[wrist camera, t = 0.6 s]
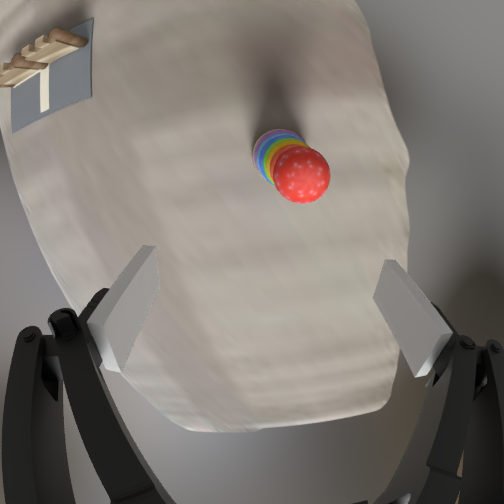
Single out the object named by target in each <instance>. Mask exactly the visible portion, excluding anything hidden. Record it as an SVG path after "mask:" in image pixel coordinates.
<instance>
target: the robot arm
mask: <svg viewBox="0 0 504 504" xmlns="http://www.w3.org/2000/svg"><path fill="white" fill-rule="evenodd" d="M160 288H161V287H160V279H159V271H158V263H157V254H156V246H145V245H143V246H142V248H141V249H140V250H139V251H138V253H137V254H136V255H135V256H134V258H133V259H132V260H131V261H130V263H129V264H128V265H127V267H126V268H125V269H124V270H123V272H122V273H121V274H120V276H119V277H118V278H117V280H116V281H115V282H114V284H113V285H112V287H111V288H110V289H108V288H103V289H101V290H100V291H98V292H97V293H96V294H95V295H94V296H93V298H92V299H91V301H90V302H89V303H88V304H87V307H85V308H84V310H83V311H82V313H81V314H80V315H79V317H77V314H76V312H75V311H74V310H73V309H70V308H62V309H59V310H57V311H55V312H53V313H52V314H51V315H50V317H49V318H48V325H49V327H50V330H51V331H52V334H53V335H42V332H41V330H40V329H39V328H38V327H36V326H29V327H26V328H25V329H23V330H22V331H21V332H20V333H19V335H18V337H17V340H16V344H15V349H14V352H13V357H12V361H11V366H10V371H9V377H8V383H7V389H6V395H5V403H4V414H3V426H2V472H3V486H4V494H5V502H6V504H76V503H75V499H74V494H73V490H72V485H71V479H70V474H69V468H68V461H67V453H66V444H65V433H64V417H63V381H64V384H65V388H66V392H67V395H68V399H69V402H70V406H71V409H72V412H73V415H74V418H75V421H76V424H77V427H78V430H79V432H80V435H81V438H82V440H83V443H84V445H85V448H86V450H87V452H88V455H89V457H90V459H91V462H92V463H93V466H94V468H95V470H96V472H97V474H98V476H99V478H100V480H101V482H102V484H103V486H104V488H105V490H106V492H107V494H108V495H109V498H110V500H111V503H110V504H176V503H175V502H174V500H173V499H172V498H171V497H170V495H169V494H168V493H167V491H166V490H165V489H164V487H163V486H162V484H161V483H160V482H159V480H158V479H157V477H156V476H155V474H154V473H153V471H152V470H151V468H150V467H149V465H148V464H147V462H146V460H145V459H144V457H143V455H142V454H141V452H140V450H139V449H138V447H137V445H136V443H135V442H134V440H133V438H132V437H131V435H130V433H129V431H128V429H127V427H126V425H125V423H124V421H123V419H122V417H121V415H120V414H119V411H118V409H117V407H116V405H115V403H114V401H113V399H112V396H111V394H110V392H109V390H108V387H107V385H106V383H105V380H104V378H103V375H102V373H101V371H100V368H99V367H100V365H101V363H102V361H103V363H104V365H105V368H106V369H107V370H111V371H115V372H120V373H122V370H123V368H124V366H125V363H126V361H127V359H128V356H129V354H130V352H131V349H132V347H133V345H134V343H135V341H136V338H137V336H138V334H139V332H140V330H141V327H142V325H143V323H144V321H145V319H146V317H147V315H148V313H149V310H150V308H151V306H152V304H153V302H154V300H155V298H156V296H157V294H158V292H159V290H160ZM373 299H374V301H375V303H376V304H377V306H378V308H379V310H380V311H381V313H382V315H383V317H384V318H385V320H386V322H387V324H388V326H389V328H390V329H391V331H392V333H393V335H394V337H395V339H396V341H397V343H398V345H399V346H400V348H401V350H402V352H403V354H404V356H405V358H406V360H407V362H408V364H409V366H410V368H411V370H412V372H413V374H414V377H419V376H424V375H427V373H428V372H429V371H430V369H431V367H432V366H433V368H434V370H435V372H434V374H433V375H432V377H431V378H430V380H429V381H428V382H427V383H426V385H425V387H427V386H428V385H429V384H430V385H429V389H428V392H427V395H426V398H425V401H424V404H423V407H422V410H421V413H420V416H419V419H418V421H417V424H416V427H415V429H414V432H413V435H412V437H411V439H410V442H409V444H408V447H407V449H406V451H405V453H404V455H403V457H402V460H401V462H400V464H399V466H398V468H397V470H396V472H395V474H394V476H393V478H392V480H391V482H390V483H389V485H388V487H387V488H386V490H385V491H384V492H383V493H382V494H381V495H380V496H379V497H378V498H377V500H376V501H375V502H374V503H373V504H455V502H456V500H457V497H458V494H459V491H460V495H459V502H458V504H504V349H503V347H502V346H501V344H500V343H499V342H497V341H495V340H493V339H489V340H488V341H487V342H486V344H485V345H484V347H481V346H476V344H475V342H474V341H473V340H472V339H470V338H469V337H468V336H465V335H458V333H457V332H456V330H455V329H454V328H453V326H452V325H451V324H450V322H449V321H448V320H447V318H446V317H445V316H444V315H443V313H442V312H441V310H440V309H439V308H438V307H437V306H436V305H434V304H433V303H432V302H430V301H429V300H428V299H427V297H426V296H425V295H424V294H423V293H422V291H421V290H420V289H419V287H418V286H417V285H416V284H415V282H414V281H413V280H412V279H411V278H410V276H409V275H408V274H407V273H406V272H405V271H404V269H403V268H402V267H401V266H400V265H399V264H398V262H397V261H396V260H387V259H385V261H384V264H383V268H382V271H381V274H380V277H379V281H378V284H377V287H376V290H375V293H374V296H373ZM486 378H487V384H486V385H485V386H484V381H485V379H486ZM463 449H464V455H463V470H462V478H461V477H459V476H457V470H458V467H459V463H460V460H461V457H462V453H463ZM353 504H368V502H367V500H366V501H362V502H358V503H353Z"/></svg>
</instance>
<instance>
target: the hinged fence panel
mask: <svg viewBox="0 0 504 504" xmlns="http://www.w3.org/2000/svg"><path fill="white" fill-rule="evenodd" d="M87 43H88V39H87V38H85V37H82V36H80V35H77V34H75V33H72V32H69V31H66V30H63V29H61V28H58V27H54V28H52V29H51V31H50V32H49V36H47V35H42V36H41V37H39V38H37V39H36V40H35V45H32V44H28V45H27V46H26V47H24V48H23V49H22V54H21V56H24V57H25V60H28V61H36V62H43V63H49V64H50V63H52V62H53V61H55V60H57V59H59V58H61V57H63V56H65V55H67V54H69V53H71V52H73V51H75V50H77V49H79V47H85V46H86V45H87Z"/></svg>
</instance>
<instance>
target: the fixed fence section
mask: <svg viewBox="0 0 504 504" xmlns="http://www.w3.org/2000/svg"><path fill="white" fill-rule="evenodd" d="M48 64H49V63H43V62H36V61H28V60H25V57H24V56H21V53H16V54H15V55H14V56H13V58H12V61H11V63H3V64H2V65H0V87H14V86H15V85H16V84H18V83H20V82H21V81H23V80H24V79H26V78H27V77H29V76H30V75H32V74H34V73H35V72H37V71H39V69H45V68H46V67H47V66H48Z"/></svg>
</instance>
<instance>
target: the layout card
mask: <svg viewBox="0 0 504 504" xmlns="http://www.w3.org/2000/svg"><path fill="white" fill-rule="evenodd" d="M93 21H94V19H93V18H92V19H90V20H88V21H86V22H84V23H82V24H80V25H77V26H75V27H73V28H71V29H70V30H68V31H69V32H72V33H75V34H77V35H80V36H82V37H85V38H87V39H88V43H87V45H86V46H85V47H79V49H77V50H75V51H73V52H71V53H69V54H67V55H65V56H63V57H61V58H59V59H57V60H55V61H53V62H52V63H50V64H48V66H47V67H46V68H45V69H39V71H37V72H35V73H34V74H32V75H30V76H29V77H27V78H26V79H24V80H23V81H21V82H20V83H18V84H16V85H15V86H14V87H11V122H12V133H14V132H16V131H18V130H20V129H21V128H23V127H25V126H27V125H29V124H31V123H33V122H35V121H37V120H39V119H41V118H43V117H45V116H47V115H49V114H51V113H54V112H56V111H58V110H60V109H63V108H65V107H67V106H70V105H72V104H75V103H77V102H80V101H83V100H85V99H88V98H91V97H92V80H91V58H92V34H93Z"/></svg>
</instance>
